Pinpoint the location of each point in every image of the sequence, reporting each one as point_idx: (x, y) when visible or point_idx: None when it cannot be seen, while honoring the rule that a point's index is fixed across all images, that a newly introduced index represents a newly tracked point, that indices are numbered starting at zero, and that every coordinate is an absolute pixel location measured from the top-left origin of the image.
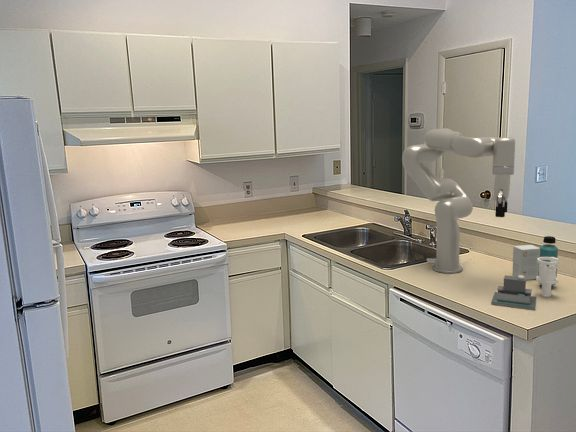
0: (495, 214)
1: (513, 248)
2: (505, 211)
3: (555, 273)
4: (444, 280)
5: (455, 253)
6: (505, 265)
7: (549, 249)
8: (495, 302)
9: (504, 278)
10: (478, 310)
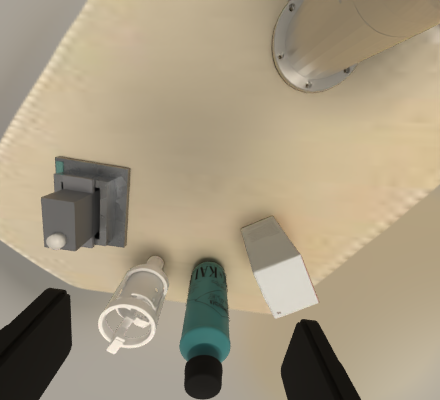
0: (33, 302)
1: (295, 250)
2: (282, 370)
3: (131, 312)
4: (207, 34)
5: (314, 47)
6: (356, 207)
7: (181, 349)
8: (55, 166)
9: (44, 199)
10: (9, 126)
